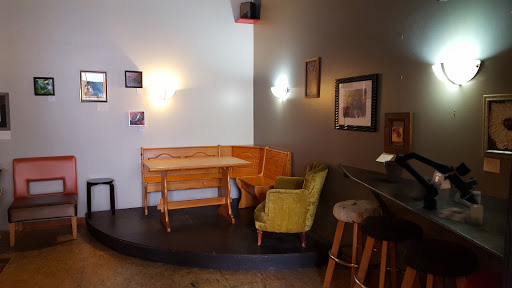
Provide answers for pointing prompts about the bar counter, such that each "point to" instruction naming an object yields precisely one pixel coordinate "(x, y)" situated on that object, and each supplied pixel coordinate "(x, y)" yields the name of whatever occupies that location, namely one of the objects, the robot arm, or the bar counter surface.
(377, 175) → the bar counter surface
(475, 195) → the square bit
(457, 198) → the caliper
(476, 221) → the beige rectangular block
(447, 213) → the bore block
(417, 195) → the pillar candle
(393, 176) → the plant pot
